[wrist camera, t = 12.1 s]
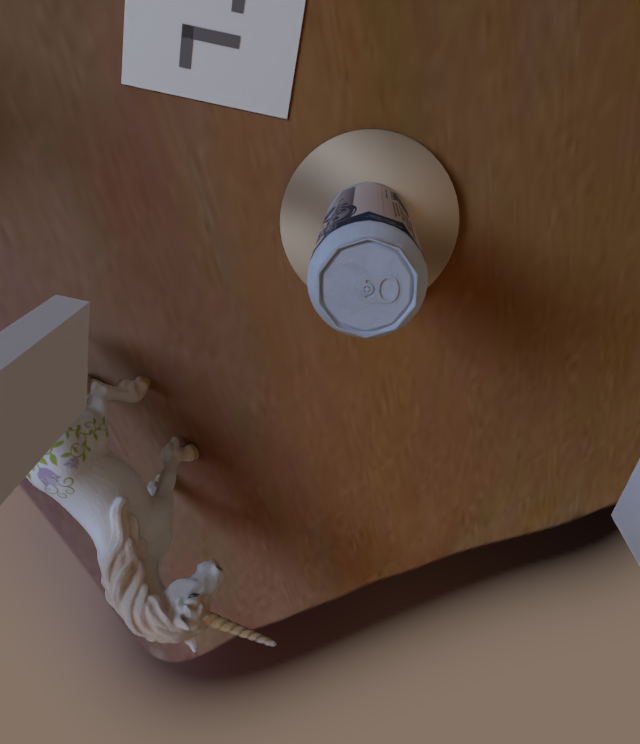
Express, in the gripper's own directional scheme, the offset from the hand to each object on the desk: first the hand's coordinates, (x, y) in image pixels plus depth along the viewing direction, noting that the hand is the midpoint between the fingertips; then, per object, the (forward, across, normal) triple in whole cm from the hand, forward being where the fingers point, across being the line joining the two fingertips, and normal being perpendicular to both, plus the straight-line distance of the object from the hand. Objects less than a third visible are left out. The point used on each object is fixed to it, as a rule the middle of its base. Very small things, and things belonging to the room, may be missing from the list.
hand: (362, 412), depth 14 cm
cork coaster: (+23, 0, 0) cm, 23 cm away
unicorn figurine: (+23, -9, -15) cm, 29 cm away
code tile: (+23, -10, +9) cm, 26 cm away
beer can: (+22, 0, 0) cm, 22 cm away
